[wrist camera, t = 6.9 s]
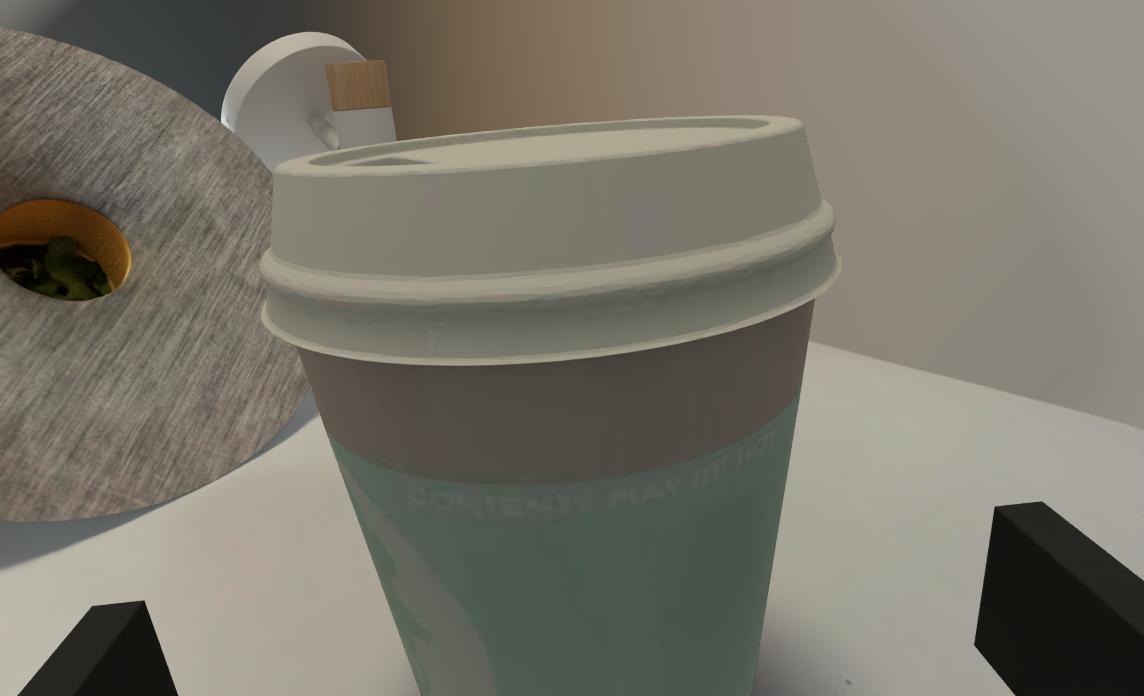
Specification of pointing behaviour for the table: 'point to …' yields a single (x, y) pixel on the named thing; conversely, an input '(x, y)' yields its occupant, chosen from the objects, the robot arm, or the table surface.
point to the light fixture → (308, 99)
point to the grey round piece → (127, 290)
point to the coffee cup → (562, 387)
